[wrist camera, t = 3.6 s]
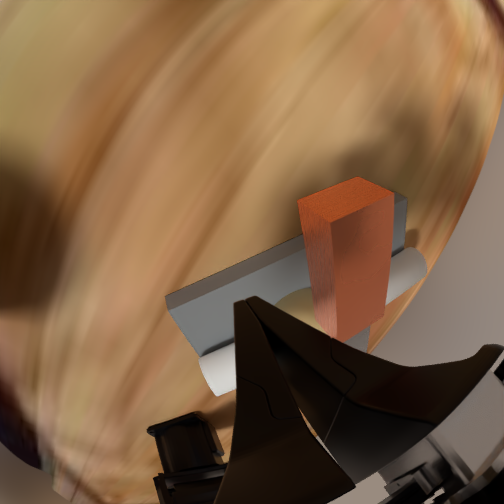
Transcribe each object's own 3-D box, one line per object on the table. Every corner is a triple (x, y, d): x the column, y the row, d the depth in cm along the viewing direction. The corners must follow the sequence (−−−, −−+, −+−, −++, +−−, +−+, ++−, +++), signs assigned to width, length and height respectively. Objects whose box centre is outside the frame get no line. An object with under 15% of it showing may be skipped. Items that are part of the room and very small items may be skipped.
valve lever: (353, 371, 17) (367, 389, 16) (322, 390, 17) (335, 409, 15) (357, 176, 9) (394, 193, 8) (297, 200, 9) (330, 222, 7)
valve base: (222, 380, 24) (250, 446, 18) (165, 296, 18) (188, 390, 12) (387, 290, 28) (433, 331, 22) (394, 191, 21) (464, 229, 15)
